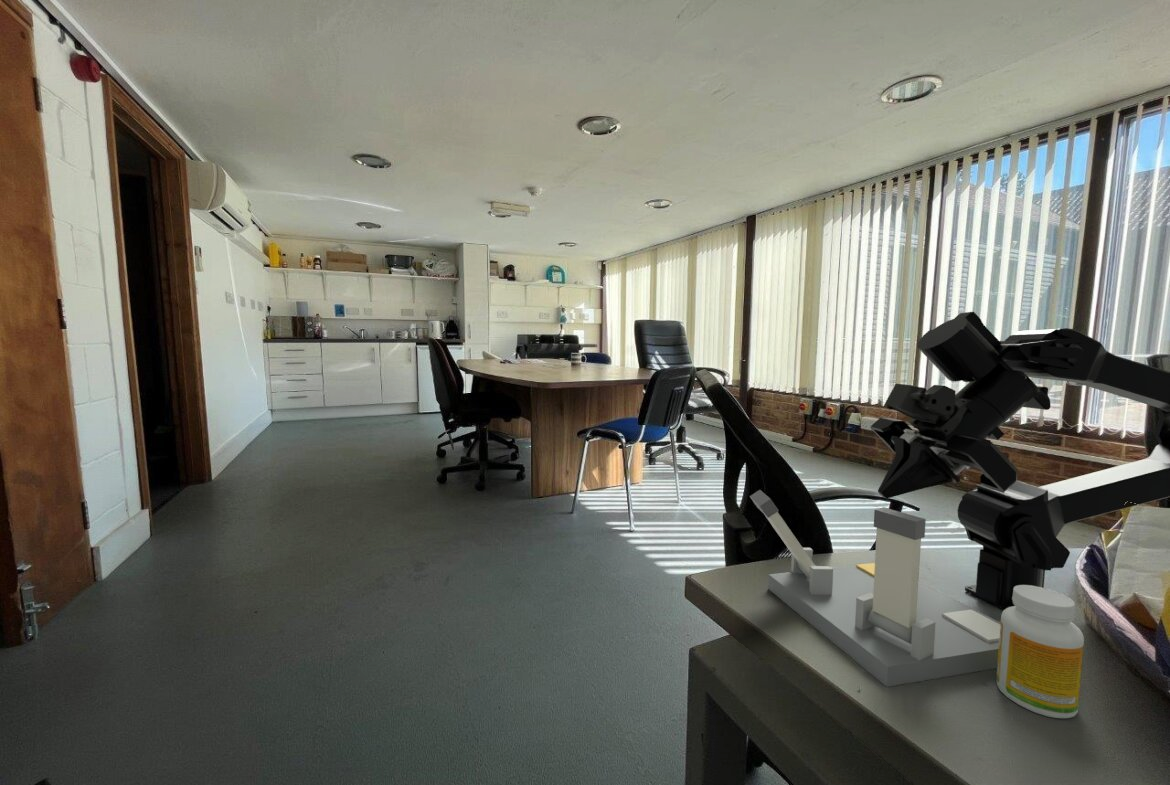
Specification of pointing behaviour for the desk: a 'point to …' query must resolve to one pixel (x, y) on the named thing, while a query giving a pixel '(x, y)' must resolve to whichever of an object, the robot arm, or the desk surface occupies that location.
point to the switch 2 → (896, 571)
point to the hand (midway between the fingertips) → (881, 495)
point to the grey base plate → (840, 612)
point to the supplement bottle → (1040, 652)
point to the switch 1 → (783, 531)
